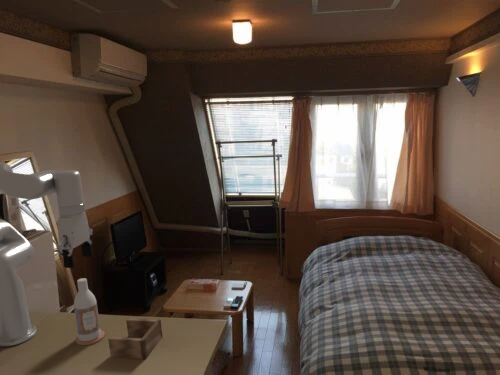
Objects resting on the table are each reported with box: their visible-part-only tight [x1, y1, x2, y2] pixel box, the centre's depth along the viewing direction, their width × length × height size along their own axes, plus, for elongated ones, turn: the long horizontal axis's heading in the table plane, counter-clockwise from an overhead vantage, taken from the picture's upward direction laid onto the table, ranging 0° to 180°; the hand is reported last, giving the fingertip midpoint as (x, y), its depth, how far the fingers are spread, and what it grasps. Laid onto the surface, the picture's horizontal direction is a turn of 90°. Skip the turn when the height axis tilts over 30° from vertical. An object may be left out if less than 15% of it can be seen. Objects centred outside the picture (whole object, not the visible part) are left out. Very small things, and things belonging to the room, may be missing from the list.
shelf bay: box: [107, 317, 163, 360], centre depth 131 cm, size 12×12×6 cm
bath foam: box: [73, 277, 101, 341], centre depth 136 cm, size 7×7×20 cm
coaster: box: [75, 329, 106, 346], centre depth 138 cm, size 9×9×1 cm
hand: (78, 261), depth 133 cm, fingers open, 9 cm apart
